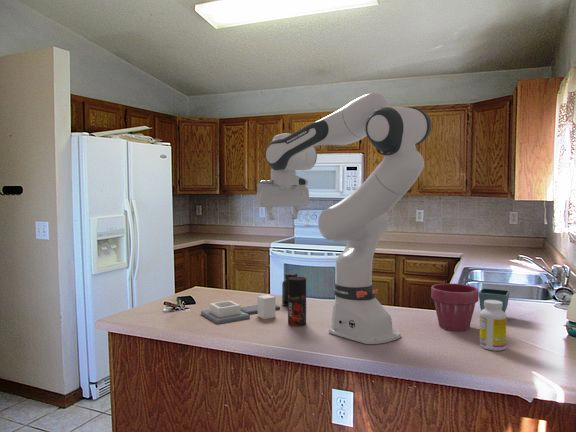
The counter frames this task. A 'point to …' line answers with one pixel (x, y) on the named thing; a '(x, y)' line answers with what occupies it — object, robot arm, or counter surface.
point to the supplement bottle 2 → (493, 326)
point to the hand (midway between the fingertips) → (283, 219)
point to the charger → (266, 306)
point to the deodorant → (297, 301)
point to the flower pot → (493, 297)
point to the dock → (225, 312)
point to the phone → (254, 309)
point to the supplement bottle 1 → (286, 287)
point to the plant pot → (454, 305)
